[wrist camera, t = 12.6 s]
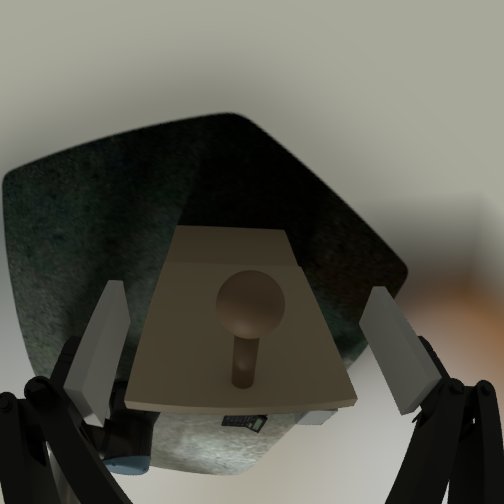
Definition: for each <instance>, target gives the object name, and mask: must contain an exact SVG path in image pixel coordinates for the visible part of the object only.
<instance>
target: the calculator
mask: <svg viewBox="0 0 504 504" xmlns="http://www.w3.org/2000/svg"><path fill="white" fill-rule="evenodd" d="M267 419H268V418H267V417H265V416H262V415H225V417H224V419H223V422H222V426H235V427H247V428H249V429H251V430H253V431H255V432H257V433H259V431H260V430H261V428H262V427H263V425H264V423H265V422H266V420H267Z"/></svg>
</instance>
